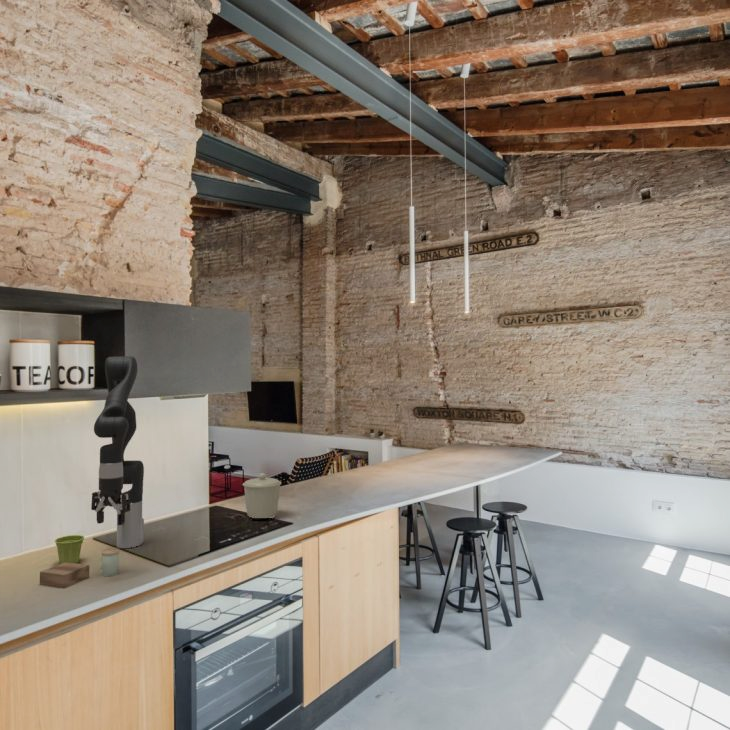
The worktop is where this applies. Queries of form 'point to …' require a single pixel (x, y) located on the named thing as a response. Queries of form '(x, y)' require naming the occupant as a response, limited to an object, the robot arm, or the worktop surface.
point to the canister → (262, 496)
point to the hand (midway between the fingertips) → (110, 523)
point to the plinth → (64, 574)
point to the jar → (110, 561)
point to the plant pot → (69, 548)
